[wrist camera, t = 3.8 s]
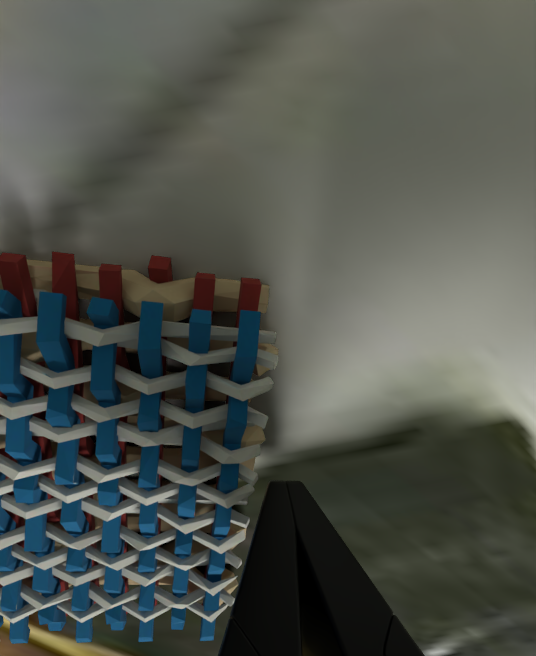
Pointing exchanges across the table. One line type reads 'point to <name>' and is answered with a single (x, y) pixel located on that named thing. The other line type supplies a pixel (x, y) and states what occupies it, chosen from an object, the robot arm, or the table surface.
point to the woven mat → (124, 442)
